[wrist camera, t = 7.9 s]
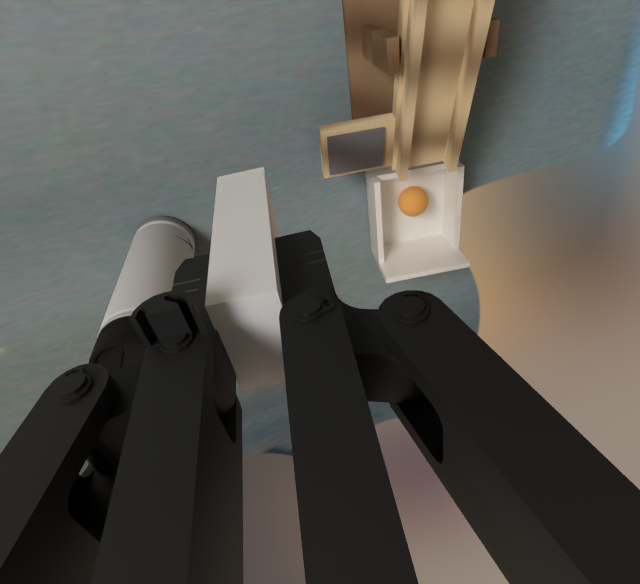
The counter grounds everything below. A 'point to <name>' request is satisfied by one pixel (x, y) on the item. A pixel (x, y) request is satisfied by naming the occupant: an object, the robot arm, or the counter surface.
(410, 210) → the ball
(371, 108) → the stand
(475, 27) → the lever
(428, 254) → the white open box
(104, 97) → the counter surface
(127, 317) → the travel mug
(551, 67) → the counter surface
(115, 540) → the robot arm
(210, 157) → the counter surface
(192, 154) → the counter surface
